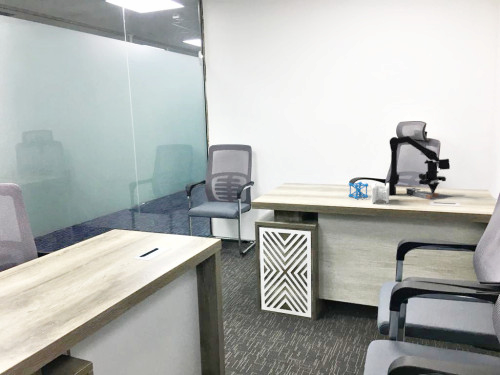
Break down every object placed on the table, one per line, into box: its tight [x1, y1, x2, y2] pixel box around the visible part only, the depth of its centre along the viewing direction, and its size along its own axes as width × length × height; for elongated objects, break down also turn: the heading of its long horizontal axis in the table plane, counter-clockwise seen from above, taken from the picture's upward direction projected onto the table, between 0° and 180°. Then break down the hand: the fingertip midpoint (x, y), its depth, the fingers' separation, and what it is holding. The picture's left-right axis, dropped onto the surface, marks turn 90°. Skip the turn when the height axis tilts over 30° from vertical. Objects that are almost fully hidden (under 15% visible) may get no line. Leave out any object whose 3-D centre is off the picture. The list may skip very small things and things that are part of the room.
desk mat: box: [404, 190, 455, 201], centre depth 273 cm, size 20×25×1 cm
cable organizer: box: [370, 182, 390, 204], centre depth 259 cm, size 15×11×12 cm
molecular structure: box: [348, 181, 369, 200], centre depth 276 cm, size 10×10×10 cm
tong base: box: [405, 187, 432, 200], centre depth 270 cm, size 20×6×5 cm, turn 25°
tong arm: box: [415, 190, 440, 197], centre depth 271 cm, size 14×2×2 cm, turn 43°
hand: (432, 193), depth 269 cm, fingers closed
